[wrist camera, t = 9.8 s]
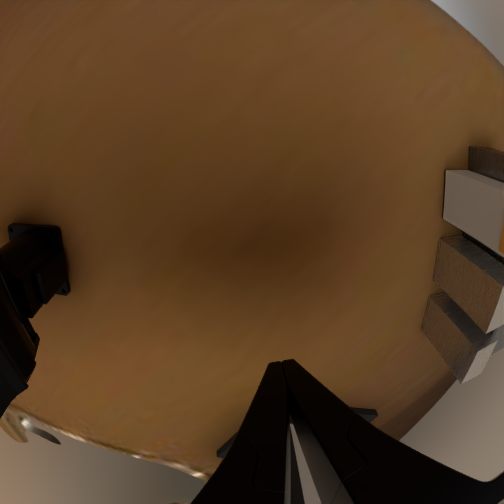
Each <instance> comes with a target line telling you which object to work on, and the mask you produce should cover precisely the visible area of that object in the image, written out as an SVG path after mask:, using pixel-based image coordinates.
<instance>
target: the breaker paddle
mask: <svg viewBox="0 0 504 504" xmlns="http://www.w3.org/2000/svg"><path fill="white" fill-rule="evenodd" d="M443 219H444V220H446V221H447V222H449V223H451V224H452V225H454V226H456V227H457V228H459V229H461V230H462V231H464V232H466V233H467V234H469V235H471V236H472V237H474V238H475V239H477V240H478V241H480V242H482V243H483V244H485V245H486V246H488V247H489V248H491V249H492V250H494V251H495V252H497V253H498V254H499V255H501V256H502V257H504V183H503V182H500V181H497V180H495V179H492V178H489V177H486V176H484V175H481V174H478V173H475V172H472V171H469V170H446V180H445V200H444V213H443Z"/></svg>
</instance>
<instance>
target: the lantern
mask: <svg viewBox="0 0 504 504" xmlns="http://www.w3.org/2000/svg"><path fill="white" fill-rule="evenodd" d="M350 408H351V409H353V410H354V411H355V412H356V413H358V414H359V415H360V416H362V417H363V418H364V419H365V420H367V421H368V422H369V423H370V422H371V421H372V420H374V419H375V418H376V417H377V416H378V414H377V411H376V410H373V409H362V408H352V407H350ZM356 413H355V414H356ZM289 416H290V413H289ZM237 433H238V432H237ZM237 433H236V434H235V435H234V436H233V437H232V438H231V439H229V440H228V441H227V442H226V443H225V444H224V445H223V446H222V447H221V448H220V449H219V450H217V457H220V458H224V457H225V456H226V454H227V452H228V450H229V448H230V446H231V445H232V443H233V440H234V438H235V436H236V435H237ZM290 465H291V497H290V504H321V501H320V498H319V496H318V493H317V490H316V487H315V485H314V482H313V479H312V476H311V474H310V471H309V468H308V465H307V463H306V460H305V457H304V454H303V452H302V449H301V446H300V443H299V440H298V438H297V435H296V432H295V429H294V426H293V423H292V420H291V417H290Z"/></svg>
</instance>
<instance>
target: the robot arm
mask: <svg viewBox="0 0 504 504" xmlns="http://www.w3.org/2000/svg"><path fill="white" fill-rule="evenodd" d="M12 229H13V230H12ZM54 231H55V232H56V234H55V233H54ZM8 233H9V239H10V242H8V243H7V244H5V245H4V246H3V247H1V248H0V418H1V417H2V415H3V413H4V412H5V410H6V409H7V407H8V405H9V404H10V403H11V401H12V400H13V399H14V398H15V397H16V396H17V395H18V394H20V393H21V392H23V391H24V390H26V389H27V388H28V384H27V382H28V380H29V378H30V376H31V374H32V373H33V371H34V369H35V366H36V362H35V356H36V352H37V349H38V345H39V341H40V338H39V336H38V334H37V333H35V331H34V329H33V327H32V325H31V323H30V321H29V319H28V318H33V317H34V315H35V314H36V313H37V312H38V310H39V309H40V308H41V307H42V305H43V304H47V303H48V302H49V300H50V299H51V298H52V297H53V296H54V294H59V295H65V296H66V295H68V294H69V292H70V287H69V282H68V275H67V269H66V264H65V258H64V253H63V248H62V241H61V233H60V229H59V228H58V227H57V226H48V225H33V224H17V223H12V224H10V225H9V226H8ZM64 289H65V290H66V291H65V290H64ZM289 413H290V416H289ZM355 413H356V412H355V411H354V410H353V409H351V408H350V407H349V406H348V405H347V404H345V403H344V402H343V401H342V400H340V399H339V398H338V397H337V396H336V395H335V394H333V393H332V392H331V391H330V390H329V389H327V388H326V387H325V386H324V385H323V384H322V383H320V382H319V381H318V380H317V379H316V378H315V377H313V376H312V375H311V374H310V373H309V372H308V371H307V370H305V369H304V368H303V367H302V366H301V365H300V364H299V363H297V362H296V361H295V360H294V359H289V360H283V361H282V363H281V362H280V361H277V362H271V363H269V364H268V366H267V368H266V371H265V373H264V375H263V378H262V380H261V382H260V385H259V387H258V389H257V391H256V394H255V396H254V398H253V400H252V403H251V405H250V407H249V409H248V411H247V414H246V416H245V418H244V420H243V422H242V424H241V426H240V429H239V431H238V433H237V435H236V436H235V438H234V440H233V443H232V445H231V446H230V448H229V450H228V452H227V454H226V456H225V457H224V459H223V460H222V462H221V463H220V465H219V466H218V468H217V469H216V471H215V472H214V474H213V475H212V476H211V478H210V479H209V480H208V482H207V483H206V484H205V486H204V487H203V488H202V490H201V491H200V492H199V493H198V495H197V496H196V497H195V499H194V500H193V501H192V502H191V504H290V497H291V465H290V417H291V420H292V423H293V426H294V429H295V432H296V435H297V438H298V440H299V443H300V446H301V449H302V452H303V454H304V457H305V460H306V463H307V465H308V468H309V471H310V474H311V476H312V479H313V482H314V485H315V487H316V490H317V493H318V496H319V498H320V501H321V504H504V471H503V472H502V473H500V474H499V475H498V476H496V477H495V478H493V479H492V480H491V481H488V482H482V481H479V480H476V479H474V478H472V477H469V476H467V475H465V474H463V473H460V472H458V471H456V470H454V469H452V468H450V467H448V466H446V465H443V464H441V463H439V462H437V461H435V460H433V459H431V458H430V457H428V456H426V455H424V454H422V453H420V452H418V451H416V450H414V449H412V448H411V447H409V446H407V445H405V444H403V443H401V442H400V441H398V440H396V439H394V438H393V437H391V436H389V435H387V434H386V433H384V432H383V431H381V430H379V429H378V428H376V427H375V426H374V425H372V424H371V423H369V422H368V421H367V420H365V419H364V418H363V417H362V416H360V415H359V414H358V413H356V414H355Z"/></svg>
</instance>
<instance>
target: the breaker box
mask: <svg viewBox="0 0 504 504" xmlns="http://www.w3.org/2000/svg"><path fill="white" fill-rule="evenodd" d="M469 171H472V172H475V173H478V174H481V175H484V176H486V177H489V178H492V179H495V180H497V181H500V182H503V183H504V152H503V151H500V150H496V149H492V148H482V147H471V146H469ZM433 281H434V282H435V283H436V284H437V285H438V286H439V287H440V288H441V289H443V290H444V291H445V292H442V293H439V294H436V295H433V296H429V300H428V304H427V308H426V312H425V316H424V320H423V324H422V327H421V330H422V331H423V332H424V334H425V335H426V336H427V338H428V339H429V340H430V342H431V343H432V344H433V346H434V347H435V348H436V350H437V351H438V352H439V354H440V355H441V356H442V358H443V359H444V361H445V362H446V363H447V365H448V366H449V368H450V369H451V370H452V372H453V373H454V375H455V376H456V378H457V379H458V381H459V382H460V383H461V384H462V383H464V382H466V381H468V380H470V379H472V378H473V377H475V376H477V375H479V374H480V373H481V372H482V370H483V369H484V367H485V365H486V363H487V361H488V359H489V357H490V355H492V354H493V353H495V352H497V351H498V350H500V349H502V348H503V347H504V257H502V256H501V255H499V254H498V253H497V252H495V251H494V250H492V249H491V248H489V247H488V246H486V245H485V244H483V243H482V242H480V241H478V240H477V239H475V238H474V237H472V236H471V235H469V234H467V233H466V232H464V231H463V237H462V236H461V235H457V236H452V237H447V238H442V239H439V245H438V252H437V259H436V265H435V270H434V276H433Z"/></svg>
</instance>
